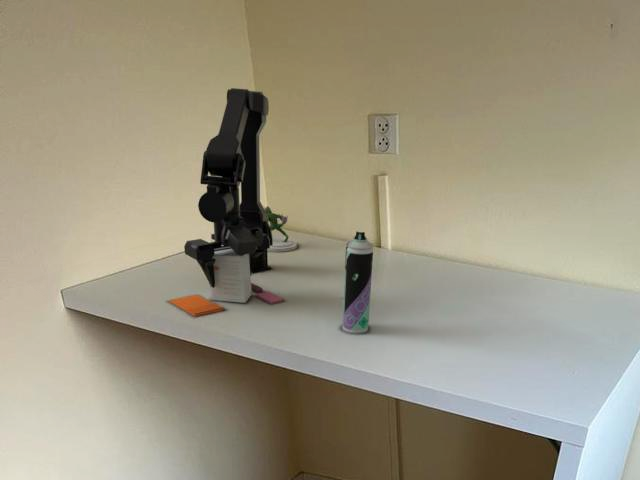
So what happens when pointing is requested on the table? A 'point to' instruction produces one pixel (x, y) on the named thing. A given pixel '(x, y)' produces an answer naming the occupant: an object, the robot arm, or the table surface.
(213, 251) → the robot arm
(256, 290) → the spatula
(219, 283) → the small box
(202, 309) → the orange flat block
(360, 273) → the spray can
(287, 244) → the monster figurine
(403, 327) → the table surface
